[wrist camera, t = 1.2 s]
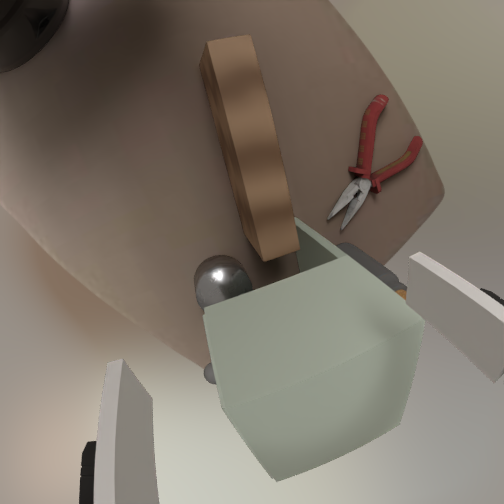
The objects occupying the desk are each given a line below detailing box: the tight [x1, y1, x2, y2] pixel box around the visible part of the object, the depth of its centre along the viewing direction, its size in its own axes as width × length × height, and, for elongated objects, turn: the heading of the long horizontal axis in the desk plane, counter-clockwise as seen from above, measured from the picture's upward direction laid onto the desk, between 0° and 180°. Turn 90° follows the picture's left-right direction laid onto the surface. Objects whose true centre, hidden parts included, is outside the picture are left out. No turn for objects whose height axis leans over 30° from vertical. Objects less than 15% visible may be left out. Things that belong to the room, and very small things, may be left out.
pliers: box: [327, 95, 423, 230], centre depth 37 cm, size 12×20×3 cm, turn 145°
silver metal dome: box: [194, 255, 253, 311], centre depth 37 cm, size 7×7×4 cm
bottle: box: [336, 243, 407, 300], centre depth 36 cm, size 6×6×15 cm
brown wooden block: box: [199, 34, 300, 262], centre depth 29 cm, size 22×4×9 cm, turn 14°
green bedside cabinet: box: [203, 217, 425, 481], centre depth 30 cm, size 16×16×24 cm
